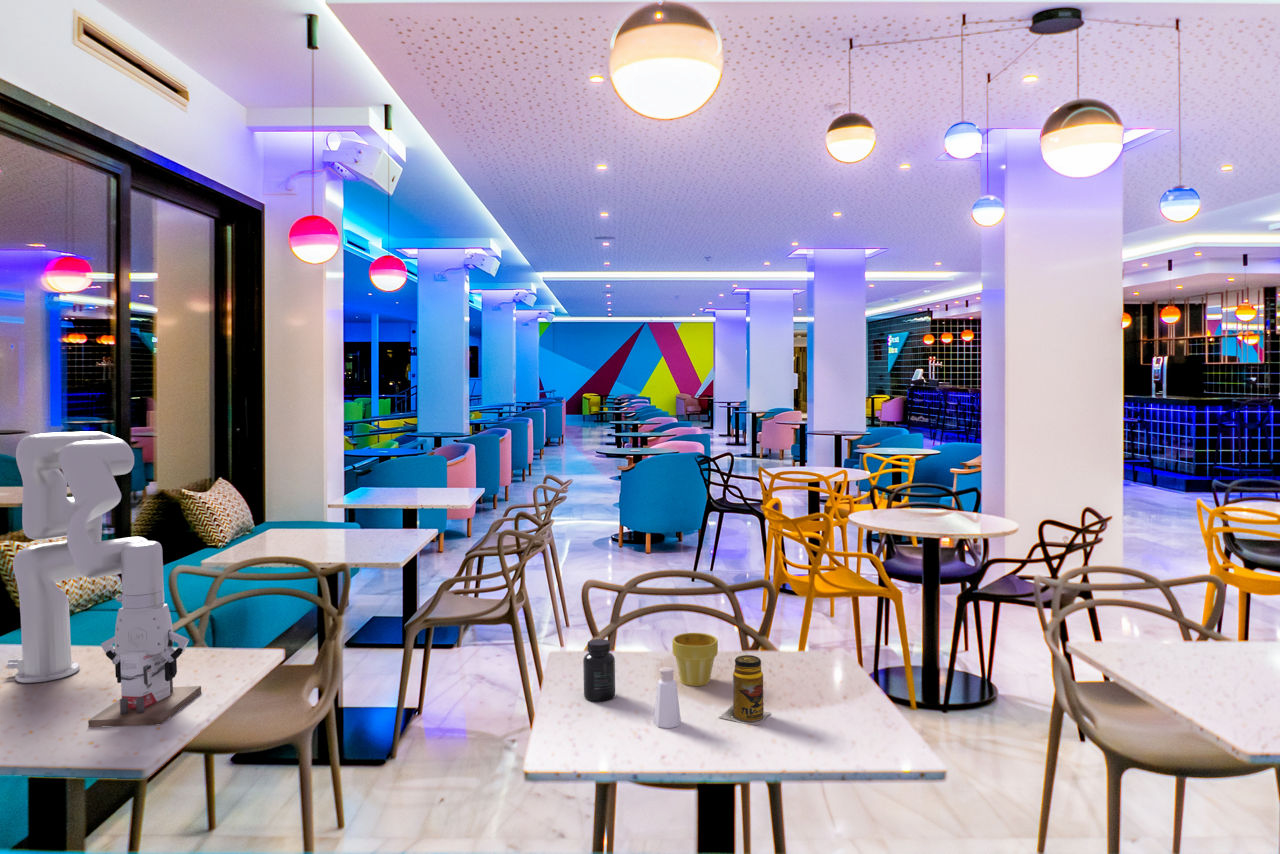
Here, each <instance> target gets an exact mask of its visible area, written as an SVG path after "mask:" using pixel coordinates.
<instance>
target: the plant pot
mask: <svg viewBox="0 0 1280 854" xmlns="http://www.w3.org/2000/svg"><path fill="white" fill-rule="evenodd" d="M671 641H672V645H671V647H672V655H674V657H675V661H676V666H677V671H678V675H679V680H680V682H681V684H683V685H686V686H689V687H690V686H691V687H701V686H706V685H707V684H709V682H710V680H711V677H712V676H711V675H712V671H713V666H714V662H715V657H717V656H718V652H719V651H718V650H719V642H718V641H719V640H718V638H717V637H716V636H715V635H712V634H710V633H709V634H708V633H702V632H685V633H679V634H677V635H675V636H674V637H673V638H672V640H671Z"/></svg>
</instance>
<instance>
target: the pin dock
mask: <svg viewBox="0 0 1280 854" xmlns="http://www.w3.org/2000/svg"><path fill="white" fill-rule="evenodd" d="M173 679H174V678H173ZM173 679H171V680H170V696H168V697H166V698H164V699H162V700H160V701H158V702H156V703H154V704H152V705H150V706H148V707H145V708H144V697H139V698H137V699H136V709H128V698H122V697H120V698H119V699H118V700H117V701H115V702H113V703H112V704H111V705H109V706H107V707H106V708H105V709H103V710H101V711H100V712H99V713H97V714H95V715H94V716H93V717H91V718H89V719H88V721H87V723H88V728H89V727H93V728H103V727H102V726H116V727H134V726H138V725H139V726H156V724H161V725H163V724H164V723H165V722H166V721H168V718H169V717H170V718H172V716H174V715H175V714H176V713H178V712H179V711H180V710H181V709H182V708H183V706H184V705H185V706H187V705H188V704H189V703H190V702H191V701H193V698H194V697H195V696H196V697H197V696H198V694H199V693H200V694H202V686H201V685H190V686H189V685H188V686H174V683H173V682H174V681H173ZM200 694H199V695H200ZM196 697H195V698H196ZM195 698H194V699H195ZM190 700H191V701H190ZM189 701H190V702H189ZM188 702H189V703H188ZM185 706H184V707H185ZM181 707H182V708H181ZM180 708H181V709H180ZM179 709H180V710H179ZM178 710H179V711H178ZM174 713H175V714H174ZM173 714H174V715H173ZM170 718H169V719H170ZM163 722H164V723H163Z"/></svg>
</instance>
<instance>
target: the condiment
mask: <svg viewBox="0 0 1280 854" xmlns="http://www.w3.org/2000/svg"><path fill="white" fill-rule="evenodd" d="M732 673H733V674H732V677H733V678H732V683H733V684H732V686H733V689H732V690H733V691H732V694H733V697H732V700H733V701H732V702H733V704H732V705H731V706H730V707H728V709H726V710H725V711H724V712H723V713H722V714H721V715H720V716H718V718H719V719H724V720H729V721H733V722H738V723H741V724H747V725H751V726H759V725H760V724H761V723H762V722H763V721H765V719H766V718H767V717H768V716H769V715H770V714H771V713H772V712H770V711H765V710H764V704H765V703H764V673H763V671H762V659H761V658H760V657H758V656H755V655H750V654H744V655H739V656H737V657H736V658H735V659H734V670H733V672H732Z"/></svg>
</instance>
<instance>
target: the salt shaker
mask: <svg viewBox="0 0 1280 854" xmlns="http://www.w3.org/2000/svg"><path fill="white" fill-rule="evenodd" d="M659 672H660V673H659V677H660V678H659V680H657V686H656V694H655V695H656V696H655V706H654V715H653V716H654V717H653V724H654V725H655V726H656V727H658V728H662V729H673V728H678V726H680V724H681V723H682V719H681V718H682V717H681V712H680V709H681V708H680V703H679V700H680V699H679V693H678V685H677V681H676V680H675V679H674V672H675V669H674V668H673V667H670V666H663V667H660V668H659Z"/></svg>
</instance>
